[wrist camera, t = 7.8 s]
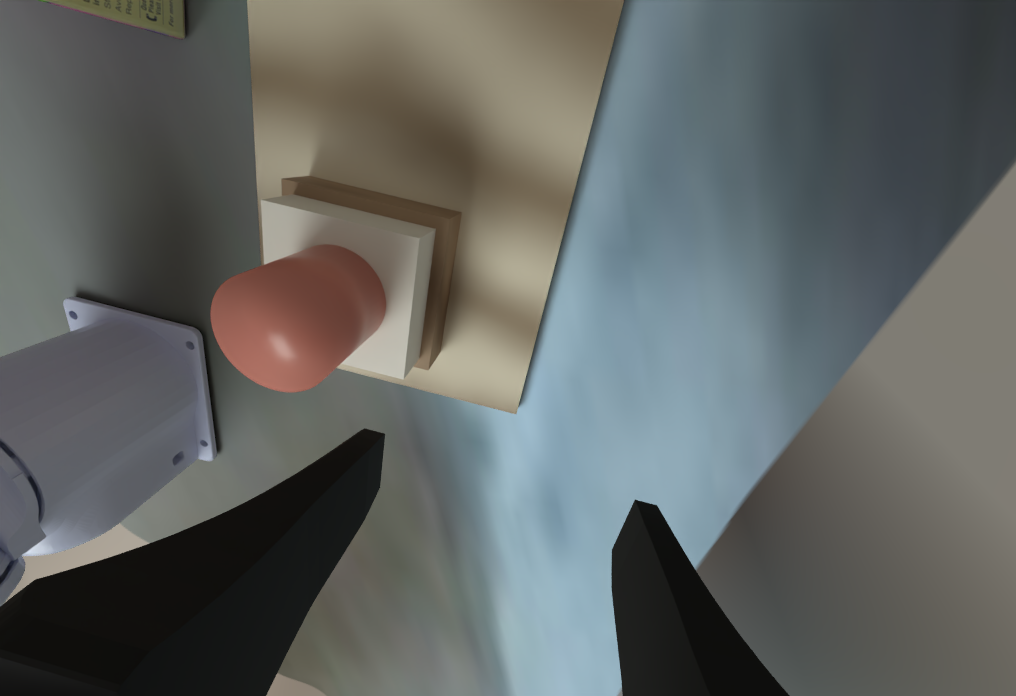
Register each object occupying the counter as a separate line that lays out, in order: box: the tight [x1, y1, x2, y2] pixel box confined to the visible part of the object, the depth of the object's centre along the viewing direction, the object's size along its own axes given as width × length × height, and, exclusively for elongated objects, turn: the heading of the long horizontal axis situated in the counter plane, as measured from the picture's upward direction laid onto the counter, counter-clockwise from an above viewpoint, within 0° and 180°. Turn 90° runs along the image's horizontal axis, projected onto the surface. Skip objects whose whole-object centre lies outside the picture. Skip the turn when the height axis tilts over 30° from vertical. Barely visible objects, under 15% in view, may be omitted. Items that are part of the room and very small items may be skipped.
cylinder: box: [211, 244, 386, 392], centre depth 15 cm, size 4×4×4 cm
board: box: [247, 0, 624, 414], centre depth 18 cm, size 24×14×1 cm, turn 168°
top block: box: [261, 194, 436, 380], centre depth 18 cm, size 6×6×2 cm
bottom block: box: [281, 176, 462, 370], centre depth 19 cm, size 7×7×2 cm
